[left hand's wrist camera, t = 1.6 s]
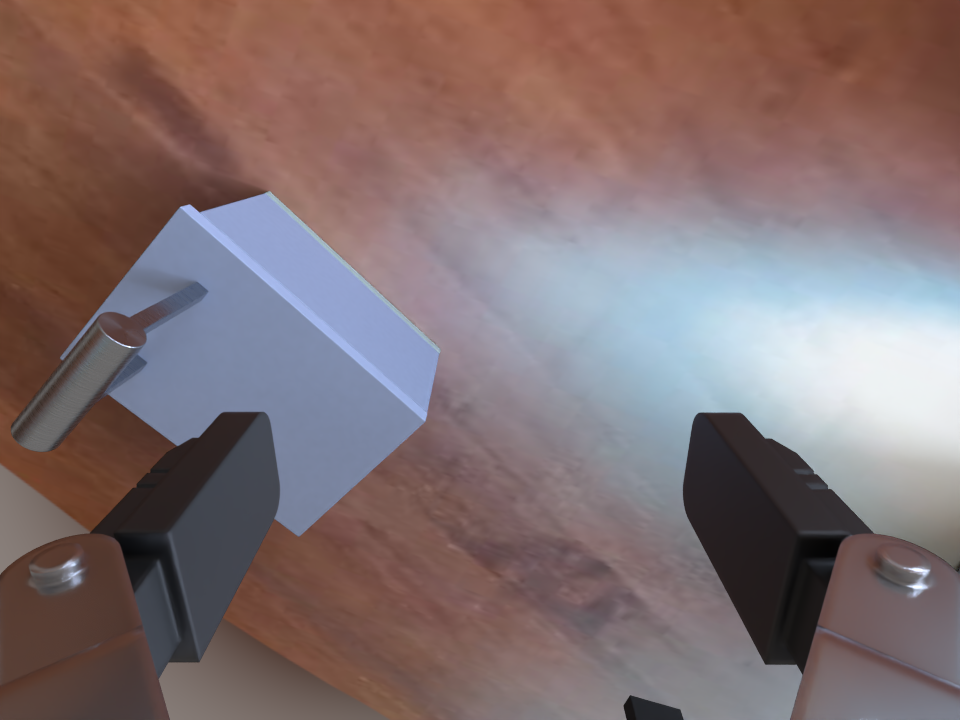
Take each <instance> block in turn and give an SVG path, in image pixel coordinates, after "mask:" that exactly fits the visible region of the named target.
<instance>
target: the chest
mask: <svg viewBox="0 0 960 720" xmlns="http://www.w3.org/2000/svg"><path fill="white" fill-rule="evenodd" d="M199 213H200V214H201V215H203V216H204V217H205V218H206V219H207V220H208V221H209V222H211V223H212V224H213V225H214V226H215V227H216V228H217V229H218V230H220V231H221V232H222V233H223V234H224V235H225V236H226V237H228V238H229V239H230V240H231V241H232V242H233V243H234V244H236V245H237V246H238V247H239V248H240V249H241V250H242V251H243V252H245V253H246V254H247V255H248V256H249V257H250V258H251V259H253V260H254V261H255V262H256V263H257V264H258V265H259V266H261V267H262V268H263V269H264V270H265V271H266V272H267V273H269V274H270V275H271V276H272V277H273V278H274V279H275V280H276V281H278V282H279V283H280V284H281V285H282V286H283V287H284V288H286V289H287V290H288V291H289V292H290V293H291V294H292V295H294V296H295V297H296V298H297V299H298V300H299V301H300V302H301V303H303V304H304V305H305V306H306V307H307V308H308V309H309V310H311V311H312V312H313V313H314V314H315V315H316V316H317V317H319V318H320V319H321V320H322V321H323V322H324V323H325V324H326V325H328V326H329V327H330V328H331V329H332V330H333V331H334V332H336V333H337V334H338V335H339V336H340V337H341V338H342V339H344V340H345V341H346V342H347V343H348V344H349V345H350V346H351V347H353V348H354V349H355V350H356V351H357V352H358V353H359V354H361V355H362V356H363V357H364V358H365V359H366V360H367V361H369V362H370V363H371V364H372V365H373V366H374V367H375V368H376V369H378V370H379V371H380V372H381V373H382V374H383V375H384V376H386V377H387V378H388V379H389V380H390V381H391V382H392V383H394V384H395V385H396V386H397V387H398V388H399V389H400V390H401V391H403V392H404V393H405V394H406V395H407V396H408V397H409V398H411V399H412V400H413V401H414V402H415V403H416V404H417V405H419V406H420V407H421V408H422V409H423V410H424V411H425V412H427V410H428V405H429V400H430V395H431V391H432V386H433V381H434V376H435V371H436V366H437V361H438V356H439V354H440V349H439V348H438V347H437V346H436V345H435V344H434V343H433V342H432V341H431V340H430V339H429V338H428V337H427V336H425V335H424V334H423V333H422V332H421V331H420V330H419V329H418V328H417V327H416V326H415V325H414V324H412V323H411V322H410V321H409V320H408V319H407V318H406V317H405V316H404V315H403V314H402V313H401V312H399V311H398V310H397V309H396V308H395V307H394V306H393V305H392V304H391V303H390V302H389V301H388V300H387V299H385V298H384V297H383V296H382V295H381V294H380V293H379V292H378V291H377V290H376V289H375V288H374V287H372V286H371V285H370V284H369V283H368V282H367V281H366V280H365V279H364V278H363V277H362V276H361V275H359V274H358V273H357V272H356V271H355V270H354V269H353V268H352V267H351V266H350V265H349V264H348V263H347V262H345V261H344V260H343V259H342V258H341V257H340V256H339V255H338V254H337V253H336V252H335V251H334V250H332V249H331V248H330V247H329V246H328V245H327V244H326V243H325V242H324V241H323V240H322V239H321V238H320V237H318V236H317V235H316V234H315V233H314V232H313V231H312V230H311V229H310V228H309V227H308V226H307V225H305V224H304V223H303V222H302V221H301V220H300V219H299V218H298V217H297V216H296V215H295V214H294V213H292V212H291V211H290V210H289V209H288V208H287V207H286V206H285V205H284V204H283V203H282V202H281V201H280V200H278V199H277V198H276V197H275V196H274V195H273V194H272V193H271V192H270V191H269V192H265V193H264V194H261V195H257V196H254V197H250V198H247V199H243V200H240V201H236V202H233V203H230V204H226V205H223V206H219V207H216V208H212V209H209V210H205V211H202V212H199Z"/></svg>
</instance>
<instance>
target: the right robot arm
mask: <svg viewBox="0 0 960 720" xmlns="http://www.w3.org/2000/svg"><path fill="white" fill-rule="evenodd" d="M958 573H959V575H960V568H959V570H958ZM624 710H625V714H626V718H627V720H683V717H682V714H681V711H680V709H676V708H673V707H669V706H666V705H662V704H659V703H655V702H652V701H648V700H645V699H641V698H638V697H634V696H631V695H630V696H629V698H628V699H627V701H626V703H625V704H624Z"/></svg>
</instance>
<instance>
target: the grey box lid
mask: <svg viewBox="0 0 960 720" xmlns="http://www.w3.org/2000/svg"><path fill="white" fill-rule="evenodd" d="M60 359H61V360H63V361H62V362H61V363H60V365H59V366H58V367H57V368H56V370H55V371H54V372H53V373H52V375H51V376H50V377H49V378H48V380H47V381H46V382H45V383H44V385H43V386H42V387H41V388H40V390H39V391H38V392H37V393H36V395H35V396H34V397H33V398H32V400H31V401H30V402H29V403H28V405H27V406H26V407H25V408H24V410H23V411H22V412H21V413H20V415H19V416H18V417H17V418H16V420H15V421H14V422H13V424H12V426H11V434H12V436H13V438H14V439H15V441H16V442H17V443H19V444H20V445H21V446H23V447H25V448H27V449H29V450H32V451H37V452H47V451H51V450H54V449H56V448H57V447H59V446H60V444H61V443H62V442H63V441H64V440H65V439H66V437H67V436H68V435H69V434H70V433H71V431H72V430H73V429H74V428H75V427H76V426H77V424H78V423H79V422H80V421H81V420H82V419H83V417H84V416H85V415H86V414H87V413H88V411H89V410H90V409H91V408H92V407H93V406H94V404H95V403H96V402H98V401H99V400H101V399H102V398H103V397H105V396H106V395H110V396H111V397H112V398H114V399H115V400H116V401H118V402H119V403H120V404H122V405H123V406H124V407H126V408H127V409H128V410H130V411H131V412H132V413H134V414H135V415H136V416H138V417H139V418H140V419H142V420H143V421H144V422H146V423H147V424H148V425H150V426H151V427H152V428H154V429H155V430H156V431H158V432H159V433H160V434H162V435H163V436H164V437H166V438H167V439H168V440H170V441H171V442H172V443H174V444H175V445H176V446H179V445H181V444H182V443H184V442H186V441H187V440H189V439H191V438H199V437H200V436H201V435H202V433H203V432H204V431H205V430H206V429H207V428H208V427H209V426H210V425H211V423H212V422H213V421H214V420H215V419H216V418H217V417H218V416H219V415H220V414H221V413H222V412H265V413H266V414H267V415H268V417H269V419H270V423H271V428H272V435H273V442H274V448H275V455H276V462H277V468H278V475H279V482H280V499H279V506H278V510H277V513H276V516H275V518H274V519H275V520H277V521H278V522H279V523H281V524H282V525H283V526H285V527H286V528H287V529H289V530H290V531H292V532H293V533H294V534H296V535H297V536H298V537H299V536H300V535H301V534H303V533H304V532H305V531H306V530H307V529H308V528H309V527H310V526H311V525H312V524H313V523H315V522H316V521H317V520H318V519H319V518H320V517H321V516H322V515H323V514H324V513H326V512H327V511H328V510H329V509H330V508H331V507H332V506H333V505H334V504H335V503H337V502H338V501H339V500H340V499H341V498H342V497H343V496H344V495H345V494H346V493H347V492H349V491H350V490H351V489H352V488H353V487H354V486H355V485H356V484H357V483H358V482H360V481H361V480H362V479H363V478H364V477H365V476H366V475H367V474H368V473H369V472H371V471H372V470H373V469H374V468H375V467H376V466H377V465H378V464H379V463H380V462H381V461H383V460H384V459H385V458H386V457H387V456H388V455H389V454H390V453H391V452H392V451H394V450H395V449H396V448H397V447H398V446H399V445H400V444H401V443H402V442H403V441H404V440H406V439H407V438H408V437H409V436H410V435H411V434H412V433H413V432H414V431H415V430H417V429H418V428H419V427H420V426H421V425H422V424H423V423H424V422H425V421H426V416H427V412H425V411H424V410H423V409H422V408H421V407H420V406H419V405H417V404H416V403H415V402H414V401H413V400H412V399H411V398H409V397H408V396H407V395H406V394H405V393H404V392H403V391H401V390H400V389H399V388H398V387H397V386H396V385H395V384H394V383H392V382H391V381H390V380H389V379H388V378H387V377H386V376H384V375H383V374H382V373H381V372H380V371H379V370H378V369H376V368H375V367H374V366H373V365H372V364H371V363H370V362H369V361H367V360H366V359H365V358H364V357H363V356H362V355H361V354H359V353H358V352H357V351H356V350H355V349H354V348H353V347H351V346H350V345H349V344H348V343H347V342H346V341H345V340H344V339H342V338H341V337H340V336H339V335H338V334H337V333H336V332H334V331H333V330H332V329H331V328H330V327H329V326H328V325H326V324H325V323H324V322H323V321H322V320H321V319H320V318H319V317H317V316H316V315H315V314H314V313H313V312H312V311H311V310H309V309H308V308H307V307H306V306H305V305H304V304H303V303H301V302H300V301H299V300H298V299H297V298H296V297H295V296H294V295H292V294H291V293H290V292H289V291H288V290H287V289H286V288H284V287H283V286H282V285H281V284H280V283H279V282H278V281H276V280H275V279H274V278H273V277H272V276H271V275H270V274H269V273H267V272H266V271H265V270H264V269H263V268H262V267H261V266H259V265H258V264H257V263H256V262H255V261H254V260H253V259H251V258H250V257H249V256H248V255H247V254H246V253H245V252H243V251H242V250H241V249H240V248H239V247H238V246H237V245H236V244H234V243H233V242H232V241H231V240H230V239H229V238H228V237H226V236H225V235H224V234H223V233H222V232H221V231H220V230H218V229H217V228H216V227H215V226H214V225H213V224H212V223H211V222H209V221H208V220H207V219H206V218H205V217H204V216H203V215H201V214H200V213H199V212H198V211H197V210H196V209H195V208H193V207H192V206H191V205H190V204H189V205H185V206H181V207H179V208H178V210H177V211H176V212H175V214H174V215H173V216H172V217H171V219H170V220H169V221H168V222H167V224H166V225H165V226H164V227H163V229H162V230H161V231H160V232H159V234H158V235H157V236H156V237H155V239H154V240H153V241H152V242H151V244H150V245H149V246H148V247H147V249H146V250H145V251H144V252H143V254H142V255H141V256H140V257H139V259H138V260H137V261H136V262H135V264H134V265H133V266H132V268H131V269H130V270H129V271H128V273H127V274H126V275H125V276H124V278H123V279H122V280H121V281H120V283H119V284H118V285H117V286H116V288H115V289H114V290H113V291H112V293H111V294H110V295H109V296H108V298H107V299H106V300H105V301H104V303H103V304H102V305H101V306H100V308H99V309H98V310H97V311H96V313H95V314H94V315H93V316H92V318H91V319H90V320H89V322H88V323H87V324H86V325H85V327H84V328H83V329H82V330H81V332H80V333H79V334H78V335H77V337H76V338H75V339H74V340H73V342H72V343H71V344H70V345H69V347H68V348H67V349H66V350H65V352H64V353H63V354H62V355H61V357H60Z"/></svg>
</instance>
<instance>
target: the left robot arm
mask: <svg viewBox="0 0 960 720" xmlns="http://www.w3.org/2000/svg"><path fill="white" fill-rule="evenodd" d="M279 499H280V482H279V475H278V468H277V462H276V455H275V448H274V442H273V435H272V428H271V423H270V419H269V417H268V415H267V414H266V413H265V412H222V413H221V414H220V415H219V416H218V417H217V418H216V419H215V420H214V421H213V422H212V423H211V425H210V426H209V427H208V428H207V429H206V430H205V431H204V432H203V433H202V435H201V436H200V437H199V438H191V439H189V440H187V441H186V442H184V443H182V444H181V445H179V446H177V447H175V448H174V449H172V450H170V451H168V452H167V453H166V454H165V455H164V456H163V457H162V458H161V459H160V460H159V461H158V462H157V463H156V464H155V465H154V466H153V468H152V469H151V472H150V473H147V474H146V475H145V476H144V477H143V478H142V479H141V480H140V481H139V482H138V483H137V487H136V488H132V490H131V491H130V492H129V493H128V494H127V495H126V496H125V497H124V498H123V499H122V500H121V501H120V502H119V503H118V504H117V505H116V506H115V507H114V508H113V509H112V510H111V512H110V513H109V514H108V515H107V516H106V517H105V518H104V519H103V520H102V521H101V522H100V523H99V524H98V525H97V526H96V527H95V528H94V529H93V530H92V531H91V532H90V534H80V535H74V536H69V537H65V538H62V539H58V540H55V541H53V542H50V543H47V544H45V545H42V546H40V547H38V548H36V549H34V550H32V551H30V552H28V553H27V554H25V555H23V556H22V557H20V558H19V559H17V560H16V561H15V562H13V563H12V564H11V565H9V566H8V567H7V568H6V569H5V570H4V571H3V572H2V573H1V575H0V720H170V718H169V715H168V711H167V708H166V704H165V701H164V697H163V694H162V690H161V687H160V683H159V680H158V679H159V677H160V676H161V674H162V672H163V671H164V669H165V667H166V665H167V664H168V662H200V660H201V658H202V656H203V654H204V652H205V650H206V648H207V646H208V644H209V643H210V641H211V639H212V637H213V635H214V633H215V631H216V629H217V627H218V625H219V624H220V622H221V620H222V618H223V616H224V614H225V612H226V610H227V608H228V606H229V604H230V602H231V601H232V599H233V597H234V595H235V593H236V591H237V589H238V587H239V585H240V583H241V581H242V579H243V578H244V576H245V574H246V572H247V570H248V568H249V566H250V564H251V562H252V560H253V558H254V556H255V555H256V553H257V551H258V549H259V547H260V545H261V543H262V541H263V539H264V537H265V535H266V533H267V532H268V530H269V528H270V526H271V524H272V522H273V520H274V518H275V516H276V513H277V510H278V506H279ZM683 500H684V506H685V511H686V514H687V517H688V519H689V521H690V523H691V525H692V527H693V529H694V530H695V532H696V534H697V536H698V538H699V540H700V542H701V544H702V546H703V547H704V549H705V551H706V553H707V555H708V557H709V559H710V561H711V563H712V564H713V566H714V568H715V570H716V572H717V574H718V576H719V578H720V580H721V581H722V583H723V585H724V587H725V589H726V591H727V593H728V595H729V597H730V599H731V600H732V602H733V604H734V606H735V608H736V610H737V612H738V614H739V616H740V617H741V619H742V621H743V623H744V625H745V627H746V629H747V631H748V633H749V634H750V636H751V638H752V640H753V642H754V644H755V646H756V648H757V650H758V652H759V653H760V655H761V657H762V659H763V661H764V663H765V665H797V666H798V668H799V669H800V671H801V673H802V674H803V676H802V680H801V683H800V687H799V690H798V694H797V697H796V701H795V704H794V708H793V711H792V715H791V718H790V720H960V575H959V573H958V572H957V571H956V570H955V569H954V568H953V567H952V566H951V565H949V564H948V563H947V562H945V561H944V560H943V559H941V558H940V557H938V556H937V555H935V554H933V553H932V552H930V551H928V550H926V549H924V548H922V547H920V546H918V545H915V544H913V543H910V542H908V541H905V540H902V539H898V538H895V537H891V536H886V535H880V534H874V533H873V532H872V531H871V530H870V529H869V528H868V527H867V526H866V525H865V524H864V523H863V522H862V521H861V519H860V518H859V517H858V516H857V515H856V514H855V513H854V512H853V511H852V510H851V509H850V508H849V507H848V506H847V505H846V504H845V503H844V502H843V501H842V500H841V499H840V498H839V497H838V496H837V495H836V494H835V492H834V491H833V490H832V489H828V485H827V484H826V483H825V482H824V481H823V480H822V479H821V478H820V477H819V476H818V475H817V474H814V471H813V470H812V469H811V468H810V467H809V465H808V464H807V463H806V462H805V461H804V460H803V459H802V458H801V457H800V456H799V455H798V454H797V453H795V452H793V451H792V450H790V449H788V448H787V447H785V446H783V445H781V444H780V443H778V442H776V441H774V440H773V439H765V438H764V437H763V436H762V435H761V434H760V432H759V431H758V430H757V429H756V428H755V427H754V426H753V425H752V424H751V423H750V421H749V420H748V419H747V418H746V417H745V416H744V415H743V414H741V413H698V414H697V415H696V416H695V418H694V421H693V425H692V431H691V437H690V444H689V450H688V457H687V463H686V470H685V476H684V483H683Z"/></svg>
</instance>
